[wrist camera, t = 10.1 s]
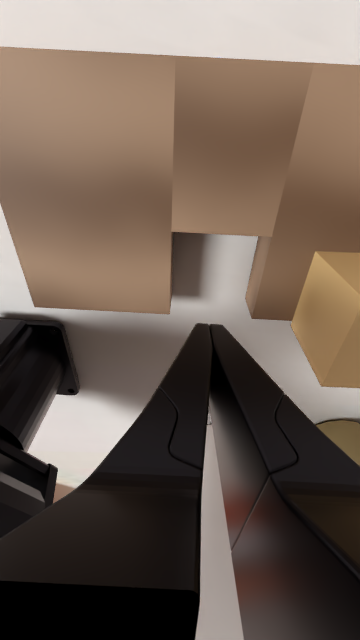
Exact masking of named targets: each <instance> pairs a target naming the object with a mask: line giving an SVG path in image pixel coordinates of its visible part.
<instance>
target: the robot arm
mask: <svg viewBox="0 0 360 640" xmlns="http://www.w3.org/2000/svg"><path fill="white" fill-rule="evenodd" d="M53 329H55V330H57V331H55V330H53ZM79 389H80V385H79V382H78V378H77V374H76V370H75V367H74V363H73V359H72V355H71V352H70V348H69V344H68V340H67V337H66V333H65V329H64V327H63V325H61V324H60V323H58V322H52V321H33V320H17V319H0V640H195V637H196V630H197V622H198V614H199V607H200V575H201V501H202V483H203V470H204V457H205V444H206V432H207V419H208V407H210V414H211V421H212V428H213V434H214V441H215V448H216V455H217V461H218V468H219V475H220V482H221V488H222V495H223V502H224V509H225V515H226V522H227V529H228V536H229V542H230V549H231V551H232V552H231V556H232V563H233V570H234V577H235V583H236V590H237V597H238V603H239V610H240V617H241V624H242V630H243V637H244V640H360V466H359V465H358V464H357V463H356V462H355V461H354V460H353V459H351V458H350V457H349V456H348V455H347V454H346V453H345V452H344V451H343V450H342V449H341V448H339V447H338V446H337V445H336V444H335V443H334V442H333V441H332V440H331V439H330V438H328V437H327V436H326V435H325V434H324V433H323V432H322V431H321V430H320V429H319V428H318V427H317V426H316V425H315V424H314V423H313V422H312V421H311V420H310V419H309V418H308V417H307V416H306V415H305V414H304V413H303V412H302V411H301V410H300V409H299V408H298V407H297V406H296V405H295V404H294V403H293V402H292V401H291V399H290V398H289V397H288V396H287V395H284V392H283V391H282V390H281V389H280V388H279V386H278V385H277V384H276V383H275V382H274V381H273V380H272V379H271V378H270V377H269V376H268V374H267V373H266V372H265V371H264V370H263V369H262V368H261V367H260V366H259V365H258V363H257V362H256V361H255V360H254V359H253V358H252V357H251V356H250V355H249V354H248V353H247V351H246V350H245V349H244V348H243V347H242V346H241V345H240V344H239V343H238V342H237V340H236V339H235V338H234V337H233V336H232V335H231V334H230V333H229V332H228V331H227V330H226V328H225V327H224V326H223V325H221V324H210V325H208V324H202V323H197V324H196V325H195V327H194V328H193V330H192V332H191V333H190V335H189V337H188V338H187V340H186V342H185V343H184V345H183V347H182V348H181V350H180V352H179V353H178V355H177V356H176V358H175V360H174V361H173V363H172V365H171V366H170V368H169V370H168V371H167V373H166V375H165V376H164V378H163V380H162V381H161V383H160V385H159V386H158V388H157V389H156V391H155V393H154V394H153V396H152V398H151V399H150V401H149V402H148V404H147V405H146V407H145V408H144V410H143V411H142V413H141V414H140V415H139V417H138V418H137V419H136V420H135V422H134V423H133V424H132V426H131V427H130V428H129V429H128V431H127V432H126V433H125V434H124V436H123V437H122V438H121V439H120V440H119V442H118V443H117V444H116V445H115V447H114V448H113V449H112V450H111V451H110V453H109V454H108V455H107V456H106V458H105V459H104V460H103V461H102V462H101V464H100V465H99V466H98V467H97V468H96V470H95V471H94V472H93V473H92V474H91V475H90V476H89V477H88V478H87V479H86V480H85V481H84V482H83V483H82V484H81V485H80V486H78V487H77V488H76V489H75V490H73V491H72V492H71V493H69V494H68V495H66V496H64V497H63V498H61V499H60V500H58V501H57V502H55V503H54V504H53V498H54V491H55V485H56V478H57V472H58V468H57V467H55V466H53V465H52V464H46V463H44V462H43V461H41V460H39V459H37V458H36V457H34V456H32V455H31V454H29V453H27V451H28V449H29V447H30V445H31V443H32V441H33V439H34V437H35V435H36V433H37V431H38V429H39V427H40V425H41V423H42V421H43V419H44V417H45V415H46V413H47V411H48V409H49V407H50V405H51V403H52V401H53V399H54V397H55V395H56V394H59V395H76V394H78V392H79Z"/></svg>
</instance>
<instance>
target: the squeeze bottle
mask: <svg viewBox="0 0 360 640" xmlns="http://www.w3.org/2000/svg"><path fill="white" fill-rule="evenodd" d="M316 426H317V427H318V428H319V429H320V430H321V431H322V432H323V433H324V434H325V435H326V436H327V437H328V438H330V439H331V440H332V441H333V442H334V443H335V444H336V445H337V446H338V447H339V448H341V449H342V450H343V451H344V452H345V453H346V454H347V455H348V456H349V457H350V458H351V459H353V460H354V461H355V462H356V463H357V464H358V465H359V466H360V424H359V423H357V422H353V421H345V420H340V421H330V422H325V423H322V424H319V425H316Z"/></svg>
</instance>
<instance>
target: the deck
mask: <svg viewBox="0 0 360 640" xmlns="http://www.w3.org/2000/svg"><path fill="white" fill-rule="evenodd" d="M0 203H1V206H2V209H3V213H4V216H5V219H6V222H7V225H8V228H9V231H10V234H11V237H12V240H13V243H14V246H15V249H16V252H17V255H18V258H19V261H20V264H21V267H22V270H23V273H24V276H25V279H26V282H27V285H28V289H29V292H30V295H31V298H32V301H33V304H34V307H42V308H61V309H80V310H99V311H118V312H136V313H155V314H170V306H171V297H172V268H173V232H188V233H207V234H226V235H245V236H259V237H258V241H257V246H256V251H255V255H254V260H253V265H252V269H251V274H250V278H249V283H248V288H247V292H246V297H245V299H246V302H247V305H248V309H249V312H250V315H251V318H252V319H268V320H287V321H292V320H293V317H294V314H295V311H296V308H297V305H298V302H299V299H300V296H301V293H302V290H303V287H304V284H305V281H306V278H307V275H308V272H309V269H310V266H311V263H312V260H313V257H314V254H315V251H321V252H349V253H360V65H344V64H325V63H306V62H286V61H267V60H247V59H228V58H209V57H189V56H170V55H151V54H131V53H112V52H92V51H73V50H54V49H34V48H15V47H0Z"/></svg>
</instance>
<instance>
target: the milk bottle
mask: <svg viewBox="0 0 360 640" xmlns="http://www.w3.org/2000/svg"><path fill="white" fill-rule="evenodd" d="M231 552H232V551H231V549H230V542H229V536H228V529H227V522H226V515H225V509H224V502H223V495H222V488H221V482H220V475H219V468H218V461H217V455H216V448H215V441H214V434H213V428H212V424H211V425H207V432H206V444H205V457H204V470H203V483H202V501H201V575H200V607H199V614H198V622H197V630H196V637H195V640H244V637H243V630H242V624H241V617H240V610H239V603H238V597H237V590H236V583H235V577H234V570H233V563H232V556H231Z"/></svg>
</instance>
